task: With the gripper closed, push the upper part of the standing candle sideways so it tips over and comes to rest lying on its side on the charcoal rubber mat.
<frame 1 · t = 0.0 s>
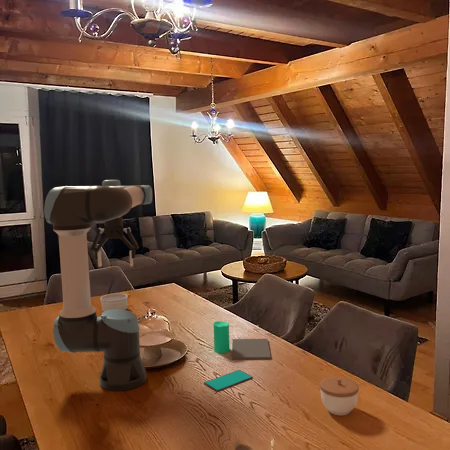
hand: (115, 266, 205), 28 cm above the table, tool pointing down, fingers open, 13 cm apart
lidded jar: (338, 410, 138), on the table
smartphone: (228, 382, 157), on the table
candle: (221, 350, 183), on the table
ramekin: (114, 311, 235), on the table
mat: (250, 349, 183), on the table
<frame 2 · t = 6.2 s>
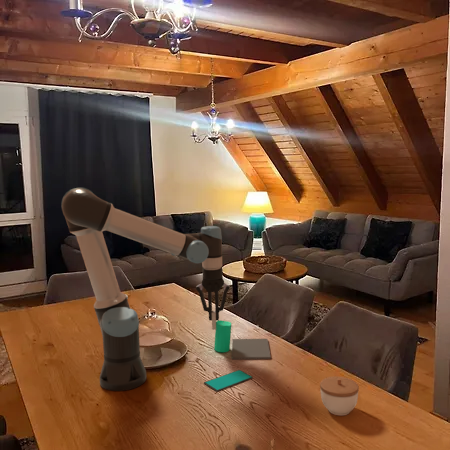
hand: (214, 328, 182), 9 cm above the table, tool pointing down, fingers closed
candle: (221, 349, 183), on the table, touching gripper
everything else where it was.
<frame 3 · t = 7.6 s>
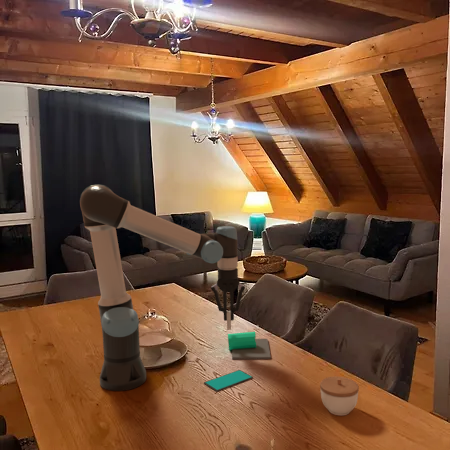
hand: (229, 328, 182), 8 cm above the table, tool pointing down, fingers closed
candle: (227, 341, 183), point 3 cm above the table, touching mat
everything else where it was.
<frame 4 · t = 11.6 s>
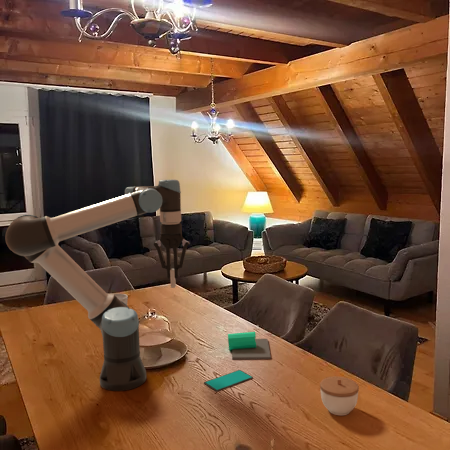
hand: (173, 286, 175), 26 cm above the table, tool pointing down, fingers closed
nothing on the table moved.
at the end: candle tilted 87°; candle inside the target area (1.1 cm from its centre), point 3.1 cm above the table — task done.
